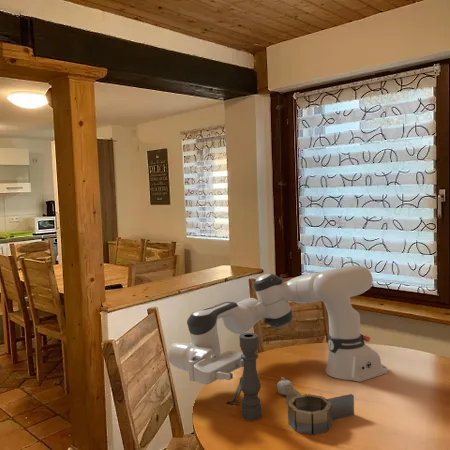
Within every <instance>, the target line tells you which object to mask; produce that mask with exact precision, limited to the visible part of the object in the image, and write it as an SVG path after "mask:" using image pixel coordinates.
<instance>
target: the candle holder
mask: <svg viewBox="0 0 450 450" xmlns="http://www.w3.org/2000/svg"><path fill="white" fill-rule="evenodd" d="M239 348H240V350H241V352H242V353H243V354H242V355H241V358H242V359H243V364H244V367H243V371H242V376H241V377H242V380H241V392H242V393H243V398H242V399H241V404H240V405H241V406H240V407H241V409H240V410H241V418H242V419H243V420H245V421H248V422H253V421H254V422H255V421H258V420H260V419H262V416H263V409H262V407H263V406H262V403H261V399H260V398H259V396H258V395H259V392H260V391H261V388H262V387H261V382H260V378H259V375H258V370H257V359H258V358H259V354H258V353H257V350H258V349H259V335H258V334H257V333H254V332H245V333H242V334H239Z"/></svg>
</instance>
